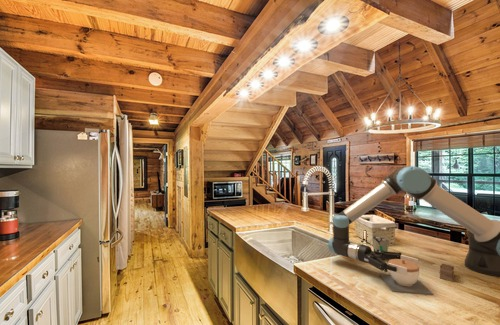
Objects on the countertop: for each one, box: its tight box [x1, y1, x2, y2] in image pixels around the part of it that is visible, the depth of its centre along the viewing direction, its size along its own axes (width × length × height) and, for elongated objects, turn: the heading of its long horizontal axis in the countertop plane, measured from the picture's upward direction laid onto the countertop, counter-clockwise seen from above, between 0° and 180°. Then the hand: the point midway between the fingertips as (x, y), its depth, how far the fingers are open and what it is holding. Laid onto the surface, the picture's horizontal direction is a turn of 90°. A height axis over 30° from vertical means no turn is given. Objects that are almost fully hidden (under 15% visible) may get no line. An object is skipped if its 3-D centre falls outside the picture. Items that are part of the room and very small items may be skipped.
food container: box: [372, 235, 390, 251], centre depth 126 cm, size 12×6×10 cm, turn 168°
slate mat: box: [379, 273, 434, 296], centre depth 97 cm, size 14×14×1 cm
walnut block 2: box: [439, 267, 455, 283], centre depth 101 cm, size 4×4×4 cm
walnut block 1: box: [439, 263, 455, 271], centre depth 105 cm, size 4×4×4 cm
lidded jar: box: [387, 259, 420, 286], centre depth 97 cm, size 11×11×9 cm
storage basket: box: [354, 214, 397, 246], centre depth 155 cm, size 24×16×15 cm
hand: (413, 267), depth 94 cm, fingers open, 13 cm apart
